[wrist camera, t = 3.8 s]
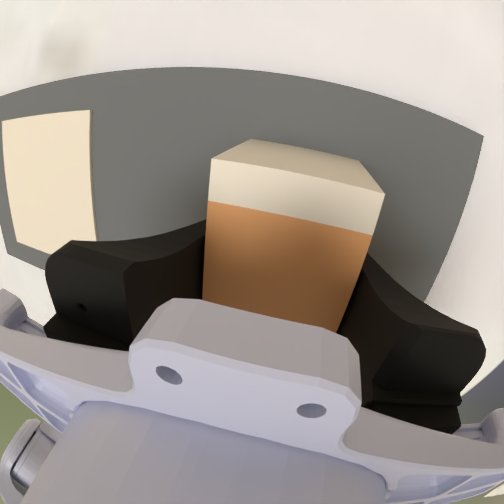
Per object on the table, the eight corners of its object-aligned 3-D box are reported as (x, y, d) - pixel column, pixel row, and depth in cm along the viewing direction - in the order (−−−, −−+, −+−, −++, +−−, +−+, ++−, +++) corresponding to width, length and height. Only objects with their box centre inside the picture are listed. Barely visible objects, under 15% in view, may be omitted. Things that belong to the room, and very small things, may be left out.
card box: (316, 310, 15) (310, 386, 11) (232, 292, 16) (200, 360, 11) (358, 160, 11) (384, 194, 7) (251, 138, 12) (211, 158, 7)
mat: (387, 355, 16) (388, 362, 16) (11, 250, 20) (7, 253, 20) (477, 134, 10) (483, 136, 9) (-6, 99, 13) (-12, 100, 13)
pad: (102, 270, 17) (100, 271, 17) (18, 240, 18) (17, 241, 18) (92, 109, 12) (90, 110, 12) (3, 120, 13) (2, 121, 13)
